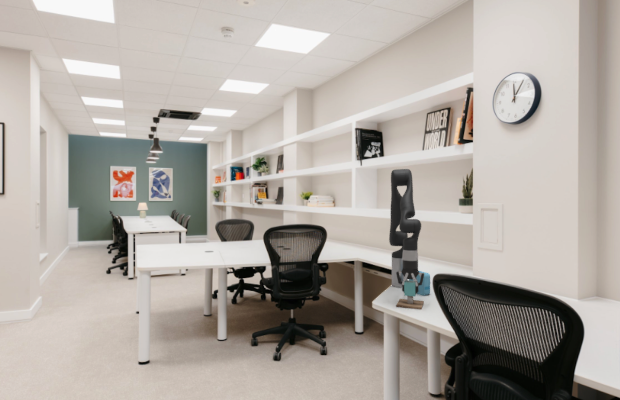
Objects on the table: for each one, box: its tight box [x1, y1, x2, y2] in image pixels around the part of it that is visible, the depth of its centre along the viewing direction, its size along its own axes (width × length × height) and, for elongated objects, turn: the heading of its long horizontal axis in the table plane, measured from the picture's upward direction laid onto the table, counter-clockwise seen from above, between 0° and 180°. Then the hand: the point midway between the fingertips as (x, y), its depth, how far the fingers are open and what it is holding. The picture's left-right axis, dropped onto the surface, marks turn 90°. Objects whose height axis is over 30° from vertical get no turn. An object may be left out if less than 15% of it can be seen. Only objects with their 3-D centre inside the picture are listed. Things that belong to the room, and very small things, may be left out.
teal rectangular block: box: [403, 279, 417, 297], centre depth 189 cm, size 5×5×7 cm
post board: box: [395, 296, 425, 310], centre depth 189 cm, size 12×12×7 cm
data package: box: [408, 270, 431, 296], centre depth 212 cm, size 12×4×12 cm, turn 28°
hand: (410, 292), depth 189 cm, fingers closed on teal rectangular block, 5 cm apart
